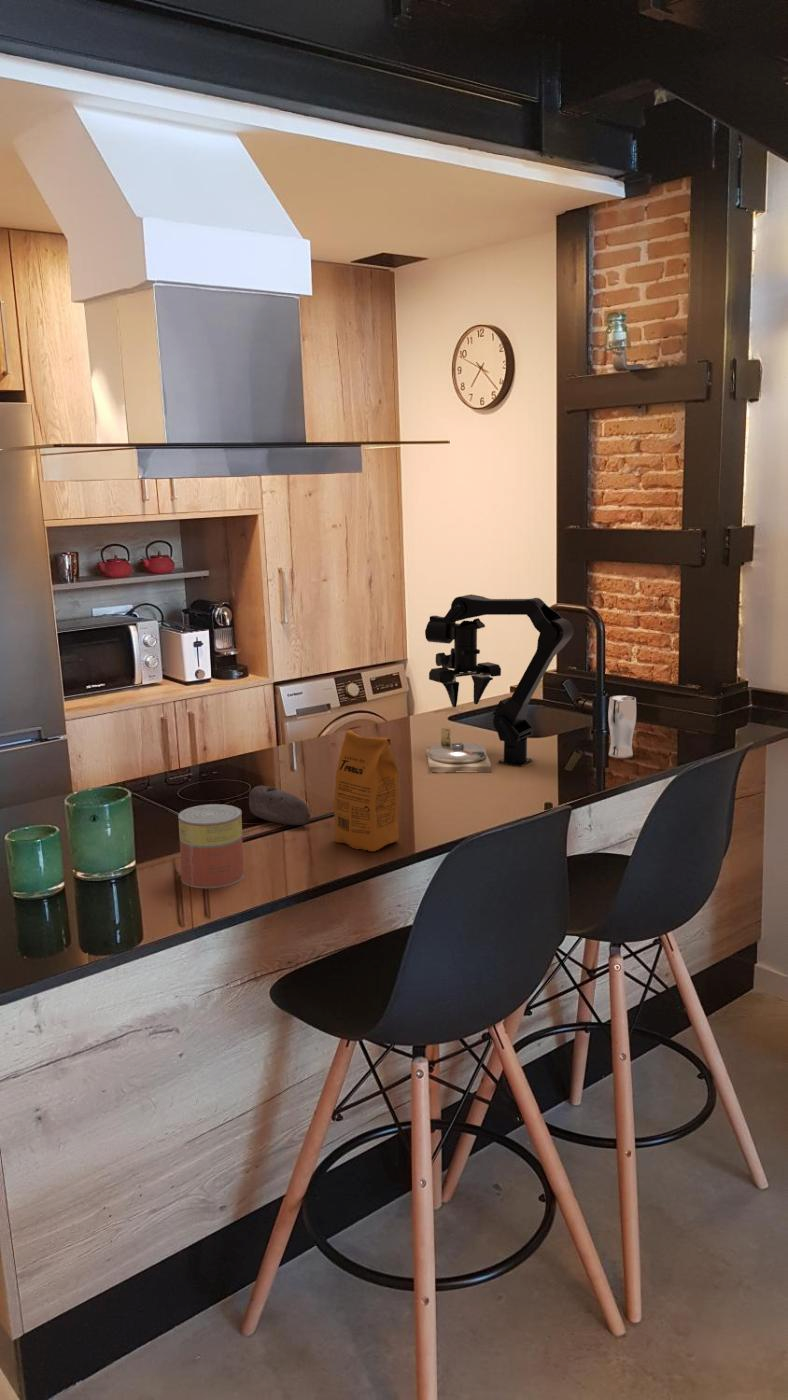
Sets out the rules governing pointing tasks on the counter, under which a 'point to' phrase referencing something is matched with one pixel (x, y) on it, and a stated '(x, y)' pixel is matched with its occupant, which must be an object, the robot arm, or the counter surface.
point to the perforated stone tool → (278, 806)
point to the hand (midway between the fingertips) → (465, 705)
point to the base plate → (458, 765)
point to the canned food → (211, 845)
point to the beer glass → (621, 725)
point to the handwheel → (456, 750)
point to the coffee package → (366, 793)
